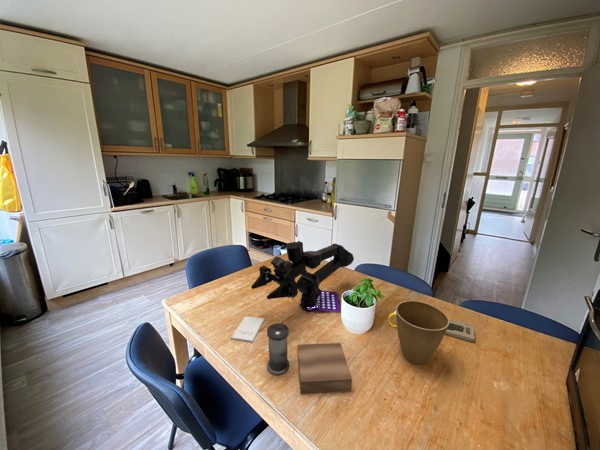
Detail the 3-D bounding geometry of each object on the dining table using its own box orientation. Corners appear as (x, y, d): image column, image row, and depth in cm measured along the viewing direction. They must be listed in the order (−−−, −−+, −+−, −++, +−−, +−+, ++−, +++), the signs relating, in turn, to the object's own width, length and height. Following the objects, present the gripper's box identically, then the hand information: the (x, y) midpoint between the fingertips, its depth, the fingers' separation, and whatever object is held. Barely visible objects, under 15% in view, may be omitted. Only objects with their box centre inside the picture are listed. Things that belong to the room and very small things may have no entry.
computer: (424, 329, 96) (425, 322, 95) (425, 318, 103) (426, 311, 102) (473, 344, 88) (475, 336, 88) (471, 331, 95) (473, 323, 94)
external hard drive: (264, 322, 100) (252, 344, 88) (244, 319, 101) (230, 341, 89) (264, 318, 99) (252, 340, 87) (244, 316, 101) (230, 337, 89)
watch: (403, 326, 97) (406, 313, 96) (403, 331, 95) (406, 317, 93) (387, 322, 99) (390, 309, 98) (387, 326, 97) (389, 312, 95)
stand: (297, 355, 82) (297, 344, 81) (339, 353, 83) (340, 342, 82) (300, 393, 69) (300, 381, 68) (351, 391, 70) (352, 379, 69)
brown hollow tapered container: (381, 347, 86) (385, 306, 82) (414, 336, 92) (419, 296, 88) (416, 382, 73) (424, 335, 69) (452, 366, 78) (461, 321, 74)
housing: (282, 354, 83) (282, 320, 79) (293, 368, 77) (293, 332, 74) (263, 363, 79) (262, 327, 75) (273, 379, 73) (273, 341, 70)
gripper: (273, 246, 101) (239, 264, 91) (306, 260, 88) (271, 283, 78) (277, 270, 105) (246, 289, 95) (310, 286, 92) (277, 311, 83)
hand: (259, 292), depth 88 cm, fingers open, 9 cm apart
